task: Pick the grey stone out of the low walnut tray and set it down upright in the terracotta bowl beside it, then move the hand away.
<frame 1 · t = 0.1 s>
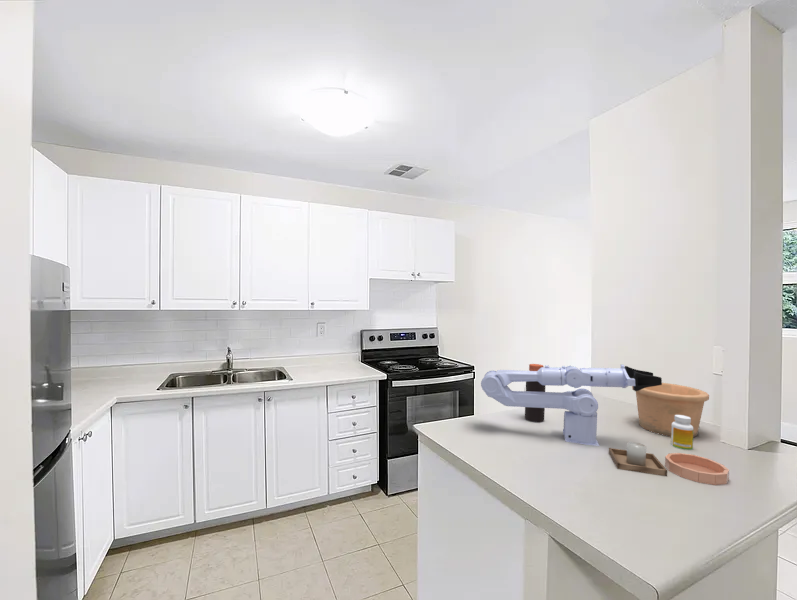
hand: (657, 378, 113), 22 cm above the counter, tool horizontal, fingers open, 7 cm apart
vinegar: (534, 420, 140), on the counter
pottery: (667, 430, 134), on the counter
bowl: (695, 474, 99), on the counter
supplement bottle: (681, 449, 117), on the counter
stone: (635, 463, 103), point 1 cm above the counter, touching tray
tray: (635, 465, 103), on the counter
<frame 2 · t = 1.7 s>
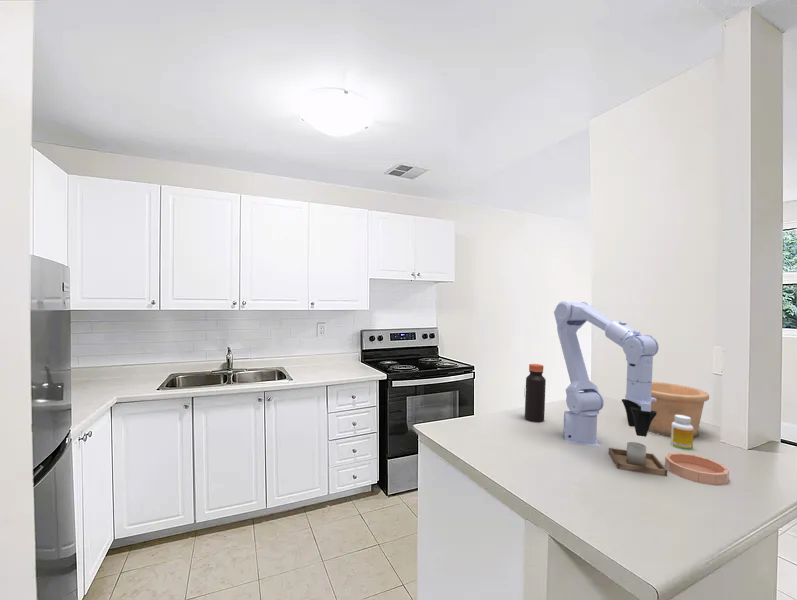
hand: (637, 431, 103), 9 cm above the counter, tool pointing down, fingers open, 7 cm apart
nothing on the counter moved.
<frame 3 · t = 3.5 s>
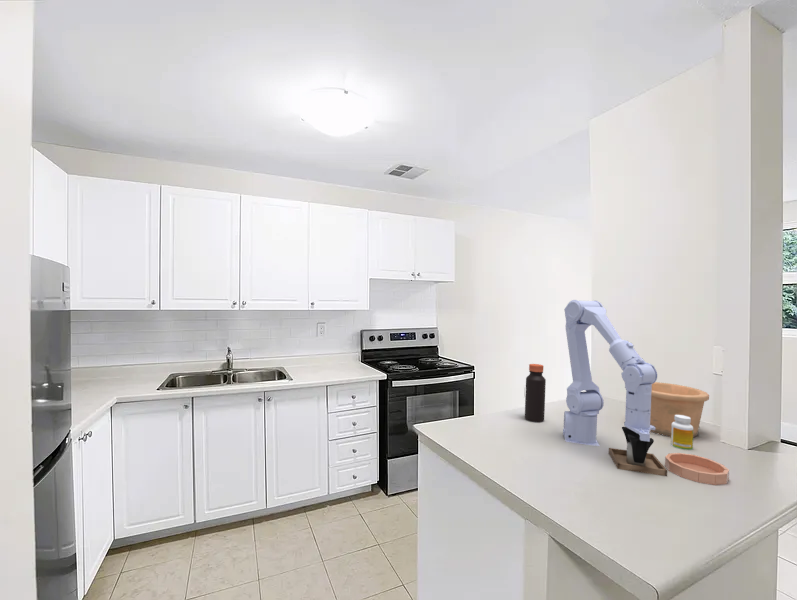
hand: (636, 458, 103), 2 cm above the counter, tool pointing down, fingers closed on stone, 4 cm apart
stone: (635, 463, 103), point 1 cm above the counter, touching gripper, tray
everything else where it was.
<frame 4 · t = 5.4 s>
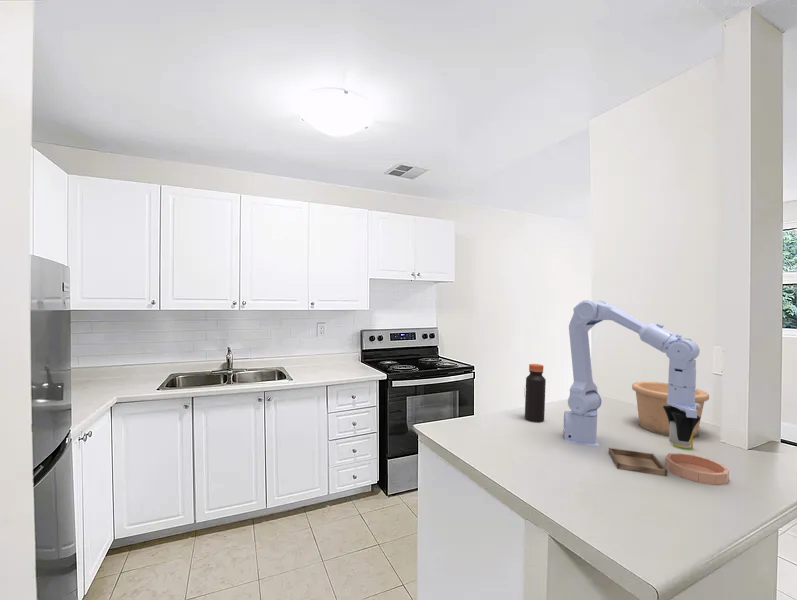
hand: (679, 437, 100), 9 cm above the counter, tool pointing down, fingers closed on stone, 4 cm apart
stone: (679, 442, 100), point 8 cm above the counter, touching gripper
everything else where it was.
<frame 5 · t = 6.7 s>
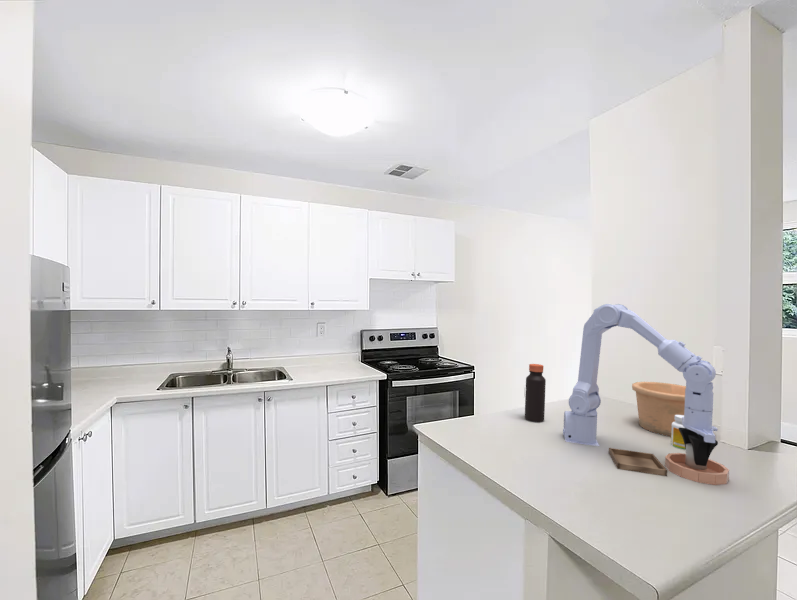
hand: (696, 461, 99), 4 cm above the counter, tool pointing down, fingers closed on stone, 4 cm apart
stone: (695, 466, 99), point 2 cm above the counter, touching gripper
everything else where it was.
when the fingers open (3 cm above the counter, at t = 7.6 s): stone drops 1 cm, resting on bowl.
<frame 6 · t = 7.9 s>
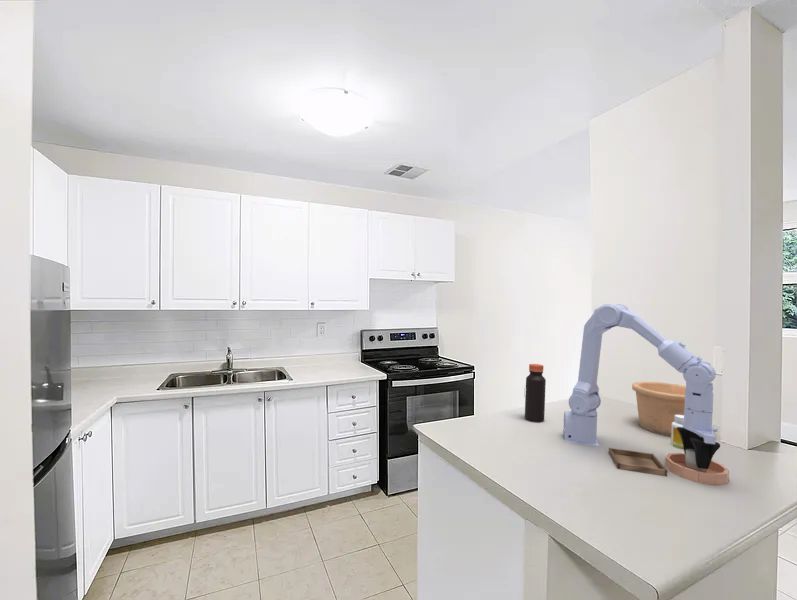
hand: (696, 461, 99), 3 cm above the counter, tool pointing down, fingers open, 7 cm apart
stone: (695, 471, 99), point 1 cm above the counter, touching bowl
everything else where it was.
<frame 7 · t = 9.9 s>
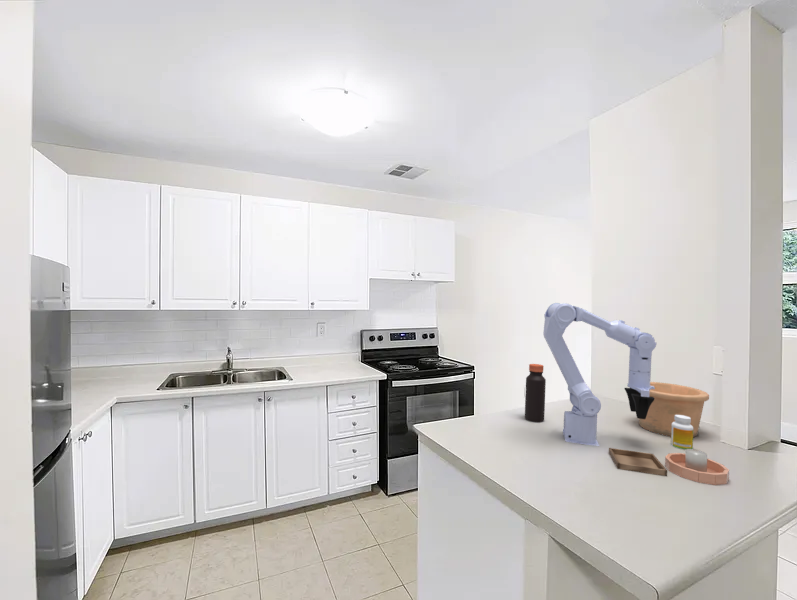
hand: (637, 414, 118), 9 cm above the counter, tool pointing down, fingers open, 7 cm apart
nothing on the counter moved.
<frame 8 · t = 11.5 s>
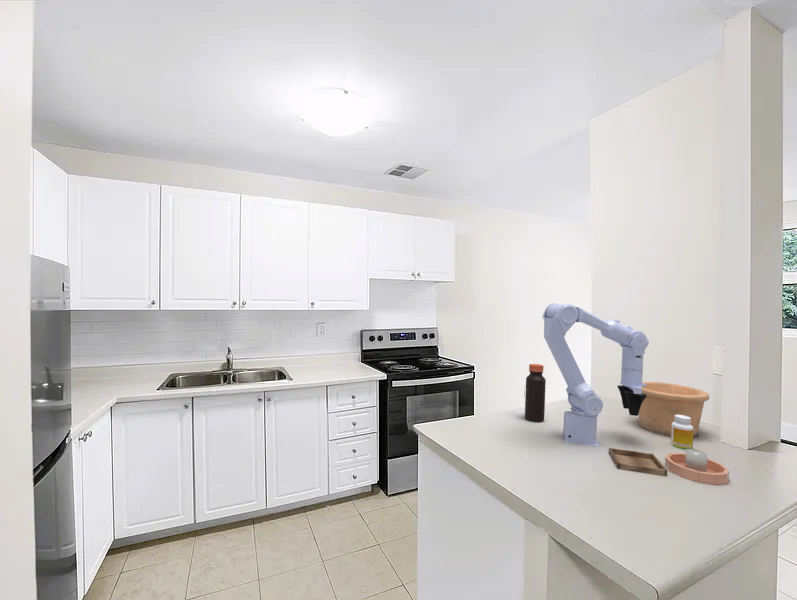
hand: (630, 411, 121), 9 cm above the counter, tool pointing down, fingers open, 7 cm apart
nothing on the counter moved.
at the end: stone inside the target area on the bowl (0.0 cm from its centre), point 0.8 cm above the bowl's base; stone tilted 0°; the gripper is holding nothing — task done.
